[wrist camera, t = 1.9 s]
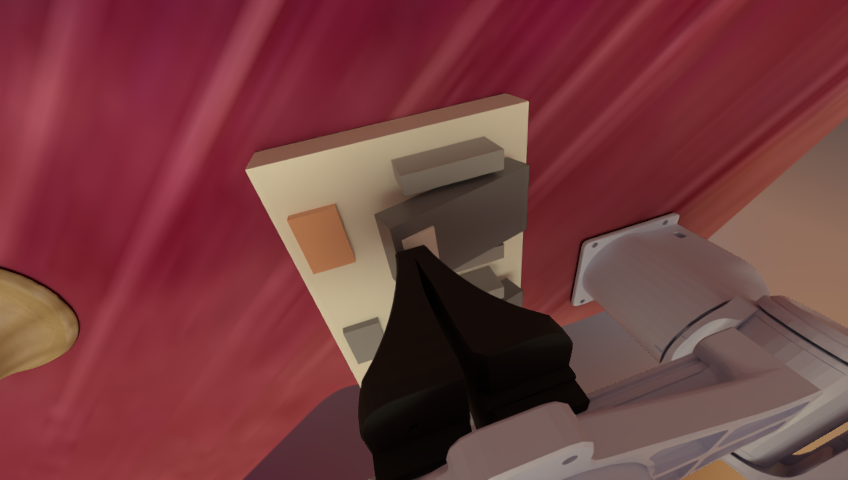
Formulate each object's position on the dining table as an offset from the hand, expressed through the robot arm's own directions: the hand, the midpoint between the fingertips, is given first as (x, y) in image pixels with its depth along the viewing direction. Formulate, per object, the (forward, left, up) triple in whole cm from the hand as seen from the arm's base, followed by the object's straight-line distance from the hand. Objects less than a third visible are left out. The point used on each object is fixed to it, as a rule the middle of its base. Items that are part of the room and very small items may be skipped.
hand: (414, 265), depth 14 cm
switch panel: (-1, +9, -7) cm, 11 cm away
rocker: (-3, 0, -2) cm, 4 cm away
